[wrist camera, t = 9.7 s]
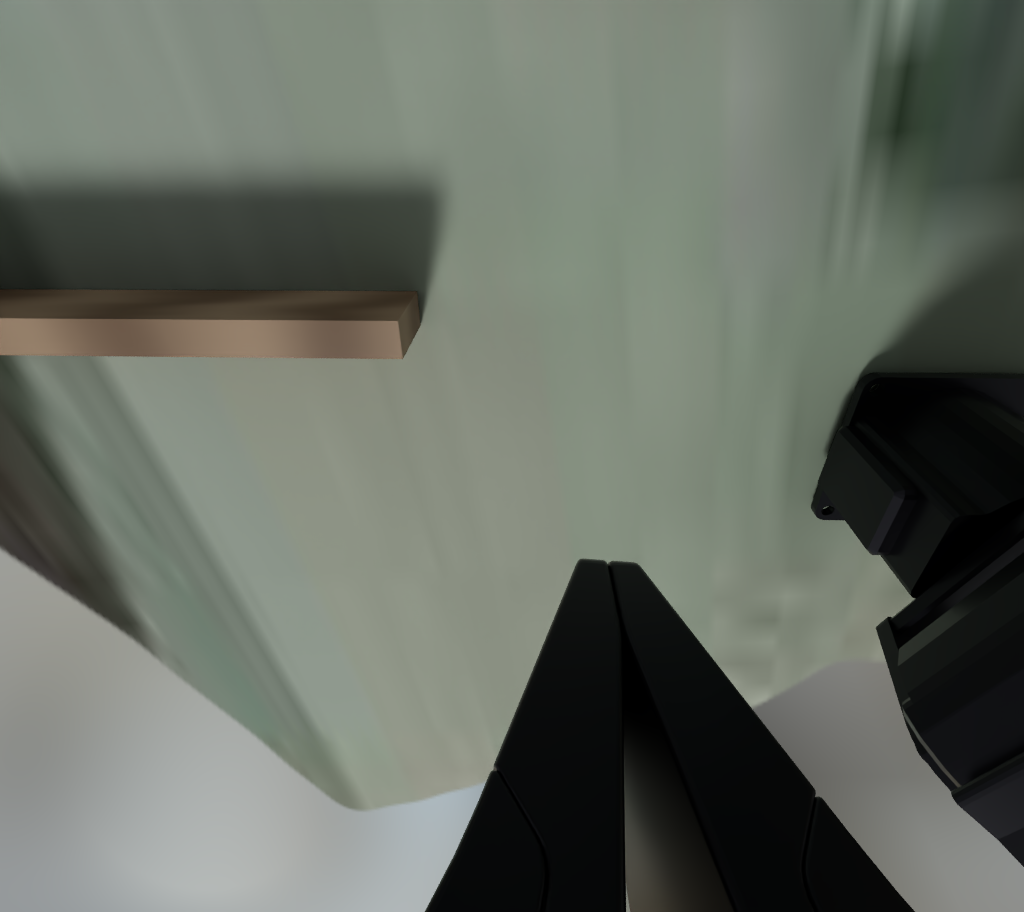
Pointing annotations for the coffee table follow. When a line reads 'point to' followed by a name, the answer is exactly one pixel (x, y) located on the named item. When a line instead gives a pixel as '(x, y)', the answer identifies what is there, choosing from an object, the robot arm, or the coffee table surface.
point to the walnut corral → (208, 323)
